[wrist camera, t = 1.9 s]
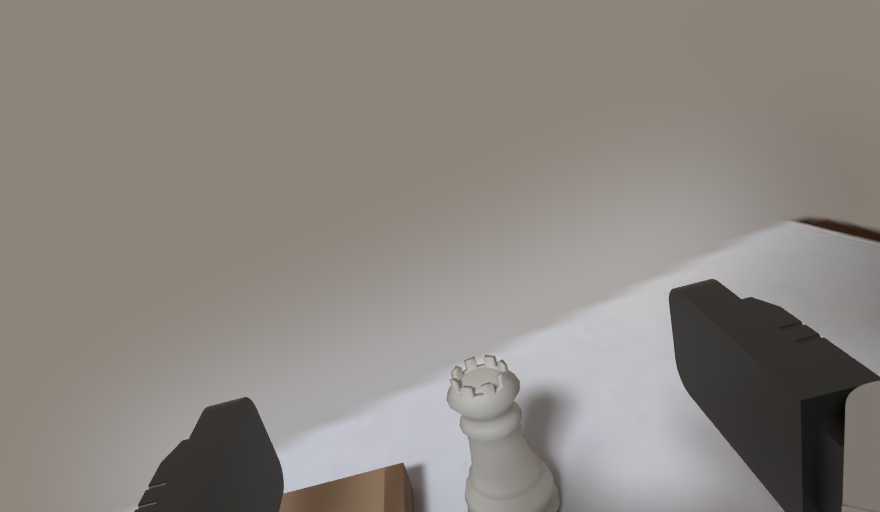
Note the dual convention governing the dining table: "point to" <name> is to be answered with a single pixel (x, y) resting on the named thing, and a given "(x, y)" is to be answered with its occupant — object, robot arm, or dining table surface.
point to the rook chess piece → (498, 442)
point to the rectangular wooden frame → (356, 493)
